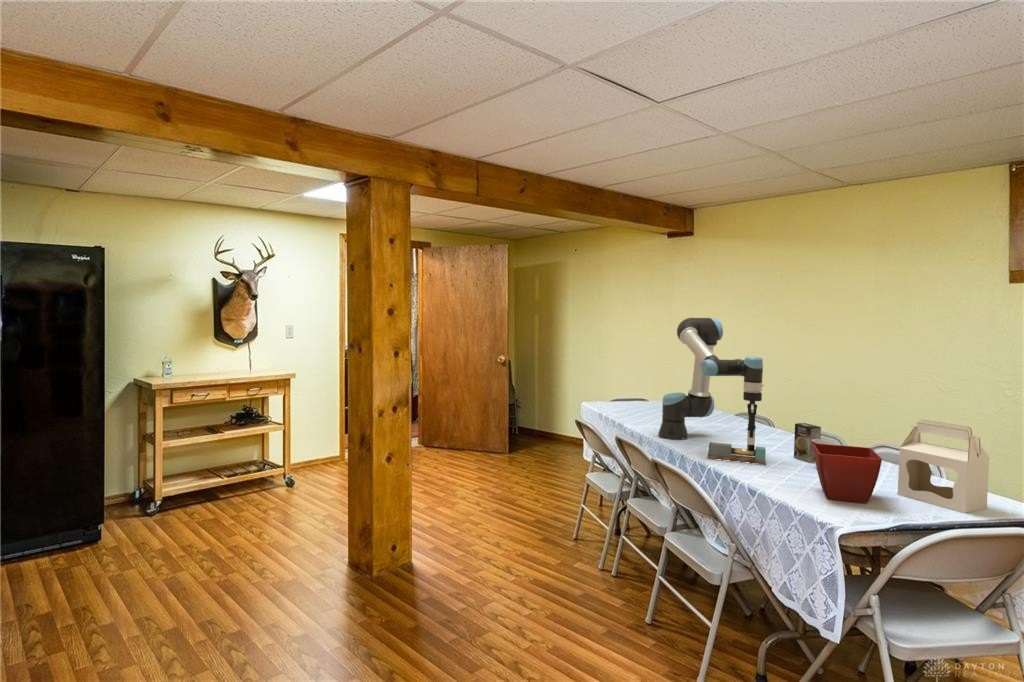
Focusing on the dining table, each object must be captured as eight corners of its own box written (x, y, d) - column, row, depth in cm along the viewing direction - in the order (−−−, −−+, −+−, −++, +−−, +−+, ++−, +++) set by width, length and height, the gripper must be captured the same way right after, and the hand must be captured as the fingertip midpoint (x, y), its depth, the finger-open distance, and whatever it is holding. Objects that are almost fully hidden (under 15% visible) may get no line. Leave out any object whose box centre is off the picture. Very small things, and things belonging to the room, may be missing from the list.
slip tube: (728, 454, 254) (729, 422, 253) (729, 453, 256) (730, 421, 256) (762, 457, 248) (763, 425, 248) (762, 456, 251) (763, 424, 250)
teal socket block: (755, 459, 249) (755, 448, 248) (755, 457, 253) (755, 446, 253) (765, 460, 247) (765, 449, 247) (764, 458, 252) (765, 447, 251)
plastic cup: (844, 472, 235) (845, 444, 235) (818, 472, 235) (819, 443, 235) (830, 465, 246) (831, 438, 245) (805, 465, 246) (806, 438, 246)
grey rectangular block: (708, 455, 256) (709, 444, 256) (709, 452, 261) (709, 442, 260) (731, 457, 252) (731, 446, 252) (731, 455, 257) (731, 444, 257)
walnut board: (707, 458, 255) (707, 455, 255) (708, 455, 262) (708, 452, 262) (765, 464, 246) (765, 461, 246) (764, 461, 253) (764, 457, 253)
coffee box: (792, 457, 259) (794, 423, 258) (803, 457, 261) (805, 422, 260) (808, 462, 250) (810, 427, 250) (820, 461, 252) (821, 426, 252)
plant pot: (811, 485, 216) (812, 442, 215) (869, 492, 209) (871, 447, 208) (817, 500, 198) (818, 453, 198) (880, 508, 191) (882, 459, 190)
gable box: (896, 494, 207) (899, 418, 206) (917, 490, 212) (921, 416, 211) (966, 513, 187) (970, 430, 185) (988, 508, 192) (992, 427, 191)
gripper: (762, 394, 241) (760, 448, 242) (761, 389, 256) (759, 440, 257) (743, 393, 244) (741, 446, 245) (743, 388, 259) (741, 439, 260)
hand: (750, 443), depth 251 cm, fingers closed on slip tube, 3 cm apart
